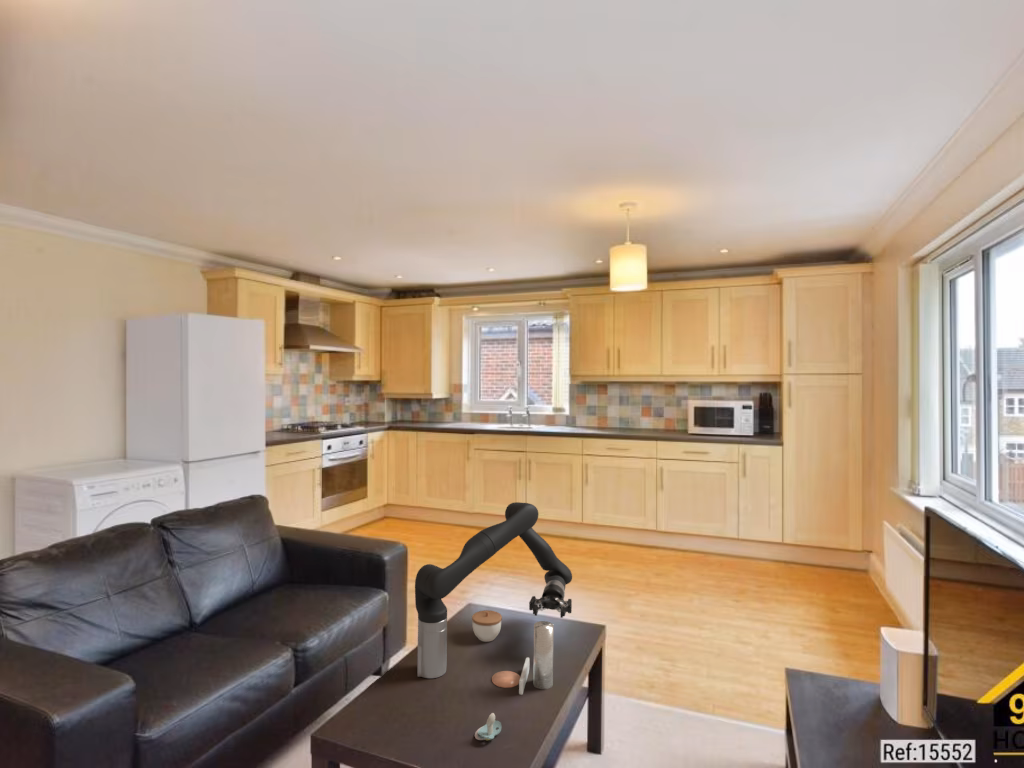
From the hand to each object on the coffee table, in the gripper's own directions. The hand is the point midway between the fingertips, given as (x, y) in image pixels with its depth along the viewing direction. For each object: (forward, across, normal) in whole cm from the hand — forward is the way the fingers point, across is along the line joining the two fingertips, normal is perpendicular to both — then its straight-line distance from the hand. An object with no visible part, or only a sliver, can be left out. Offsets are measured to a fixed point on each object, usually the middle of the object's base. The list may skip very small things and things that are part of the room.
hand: (548, 613), depth 178 cm
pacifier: (+38, -12, +16) cm, 44 cm away
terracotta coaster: (+12, -12, +16) cm, 23 cm away
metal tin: (+12, 0, +17) cm, 20 cm away
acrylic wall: (+12, -6, +17) cm, 21 cm away
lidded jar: (-14, -24, +17) cm, 33 cm away
